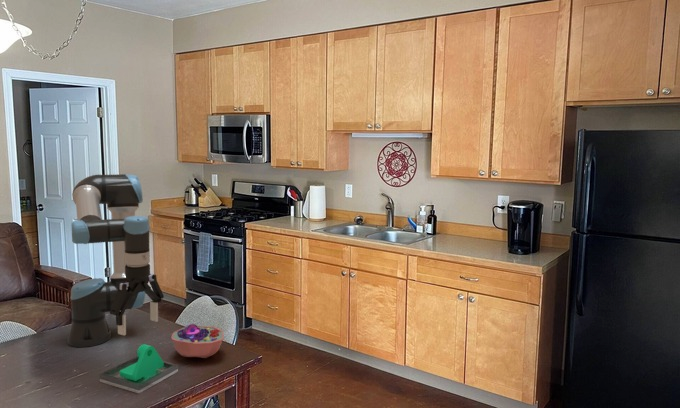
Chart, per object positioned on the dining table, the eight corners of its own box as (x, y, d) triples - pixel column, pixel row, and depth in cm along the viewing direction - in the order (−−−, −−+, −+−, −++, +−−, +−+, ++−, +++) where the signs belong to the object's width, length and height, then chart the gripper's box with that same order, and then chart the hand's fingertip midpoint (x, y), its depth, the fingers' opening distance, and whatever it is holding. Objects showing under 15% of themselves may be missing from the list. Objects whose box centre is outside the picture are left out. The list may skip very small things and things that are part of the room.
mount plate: (99, 381, 160) (99, 374, 160) (140, 361, 175) (140, 354, 175) (139, 393, 153) (138, 385, 153) (177, 371, 168) (177, 364, 168)
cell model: (201, 371, 170) (201, 339, 168) (161, 357, 179) (160, 327, 178) (235, 353, 184) (235, 324, 183) (195, 342, 194) (195, 314, 193)
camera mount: (146, 364, 171) (146, 336, 170) (163, 369, 168) (163, 340, 167) (118, 379, 160) (117, 348, 159) (135, 384, 157) (135, 353, 156)
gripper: (114, 274, 147) (115, 342, 150) (174, 257, 170) (174, 317, 172) (96, 271, 150) (98, 338, 153) (157, 255, 173) (158, 313, 175)
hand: (138, 327), depth 163 cm, fingers open, 13 cm apart
